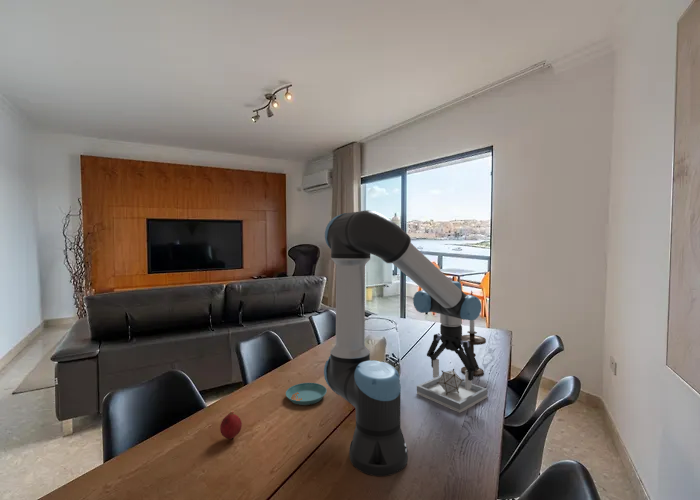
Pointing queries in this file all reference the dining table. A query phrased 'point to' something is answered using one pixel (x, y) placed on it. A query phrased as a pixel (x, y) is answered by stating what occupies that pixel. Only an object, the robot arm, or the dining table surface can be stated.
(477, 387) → the tray
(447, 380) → the game die
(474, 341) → the candlestick
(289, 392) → the saucer
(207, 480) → the dining table surface
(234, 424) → the onion
